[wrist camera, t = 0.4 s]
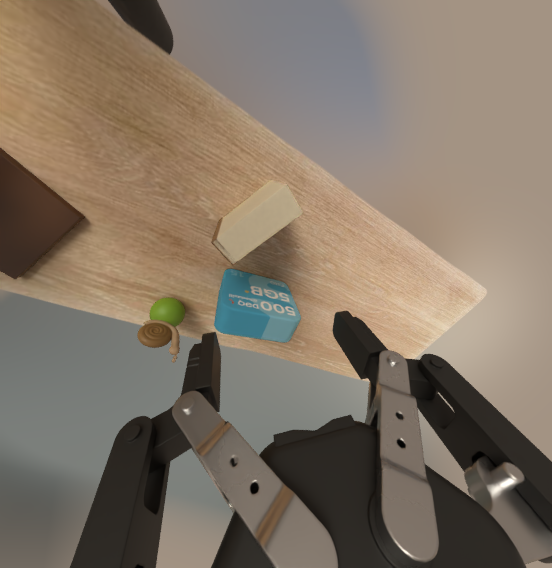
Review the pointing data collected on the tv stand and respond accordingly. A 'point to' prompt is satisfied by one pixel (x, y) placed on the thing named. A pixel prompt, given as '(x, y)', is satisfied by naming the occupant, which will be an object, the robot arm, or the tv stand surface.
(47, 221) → the book rack
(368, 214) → the tv stand surface
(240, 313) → the data package
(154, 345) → the snail figurine
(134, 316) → the tv stand surface
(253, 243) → the cream book
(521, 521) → the robot arm
